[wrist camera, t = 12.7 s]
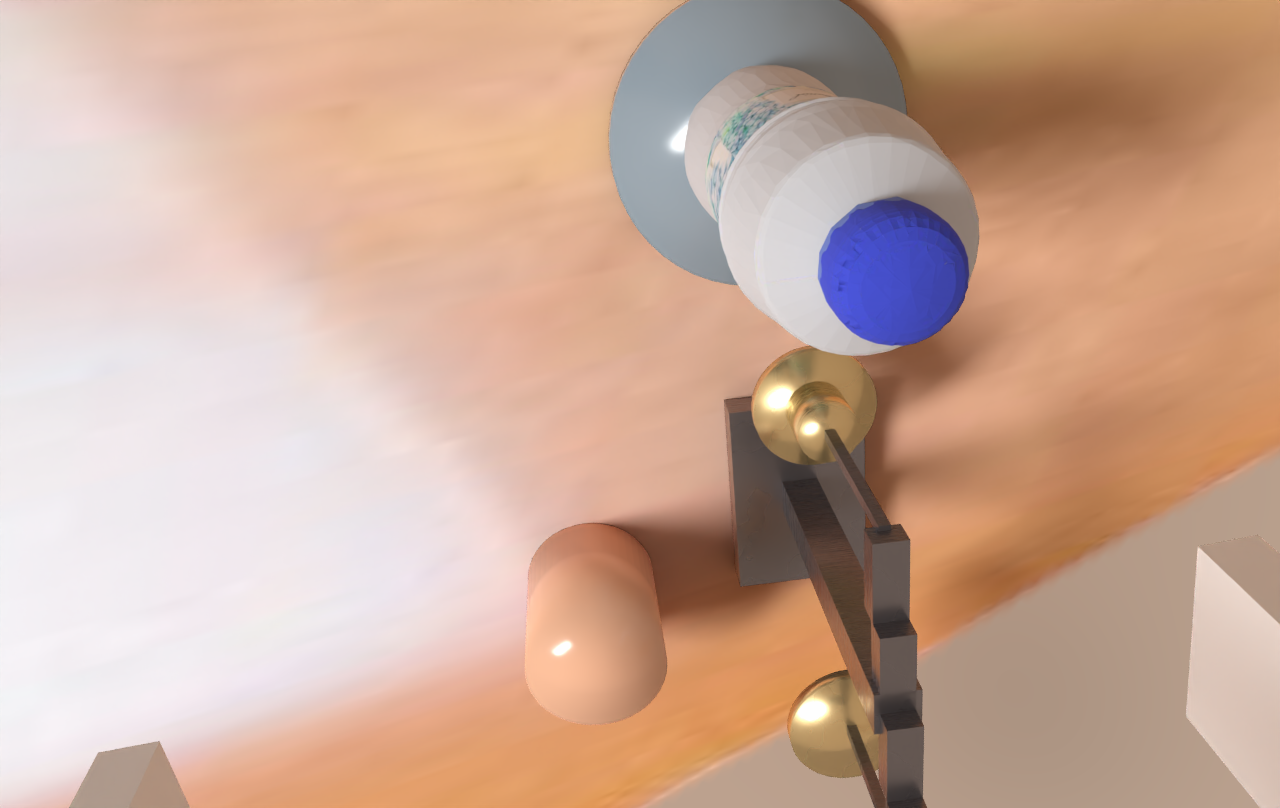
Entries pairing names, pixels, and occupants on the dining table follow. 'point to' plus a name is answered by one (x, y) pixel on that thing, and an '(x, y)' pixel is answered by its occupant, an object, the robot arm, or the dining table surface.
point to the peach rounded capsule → (593, 626)
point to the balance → (831, 564)
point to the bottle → (832, 210)
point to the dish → (689, 68)
